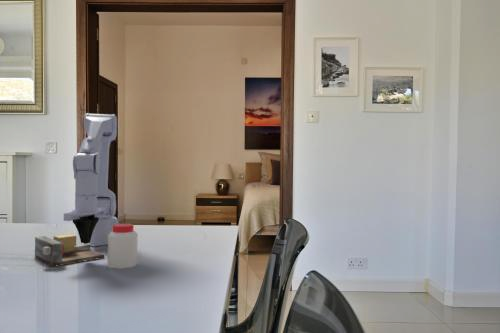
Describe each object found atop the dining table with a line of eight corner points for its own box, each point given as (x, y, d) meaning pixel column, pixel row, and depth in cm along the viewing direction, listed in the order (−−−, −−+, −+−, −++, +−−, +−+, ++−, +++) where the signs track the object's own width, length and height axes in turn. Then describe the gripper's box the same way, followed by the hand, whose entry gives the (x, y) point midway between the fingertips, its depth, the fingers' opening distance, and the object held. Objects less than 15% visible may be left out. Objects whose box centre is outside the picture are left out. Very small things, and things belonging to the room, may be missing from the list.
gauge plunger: (60, 252, 109) (60, 243, 109) (63, 253, 107) (64, 244, 107) (42, 254, 105) (42, 245, 105) (45, 256, 104) (46, 247, 104)
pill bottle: (142, 263, 110) (143, 224, 110) (125, 270, 103) (126, 228, 103) (119, 260, 113) (120, 222, 113) (101, 267, 106) (101, 226, 105)
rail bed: (84, 250, 124) (85, 231, 124) (104, 257, 115) (104, 237, 115) (34, 257, 113) (35, 237, 113) (52, 266, 105) (52, 244, 105)
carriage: (70, 248, 119) (70, 233, 119) (76, 250, 117) (76, 235, 117) (53, 250, 116) (53, 235, 116) (58, 252, 113) (58, 238, 113)
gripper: (92, 192, 120) (91, 236, 121) (54, 196, 107) (54, 246, 107) (111, 193, 118) (111, 238, 118) (75, 198, 104) (75, 249, 105)
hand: (85, 242), depth 113 cm, fingers closed
